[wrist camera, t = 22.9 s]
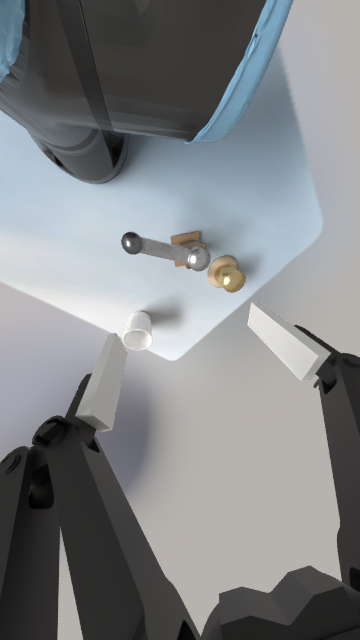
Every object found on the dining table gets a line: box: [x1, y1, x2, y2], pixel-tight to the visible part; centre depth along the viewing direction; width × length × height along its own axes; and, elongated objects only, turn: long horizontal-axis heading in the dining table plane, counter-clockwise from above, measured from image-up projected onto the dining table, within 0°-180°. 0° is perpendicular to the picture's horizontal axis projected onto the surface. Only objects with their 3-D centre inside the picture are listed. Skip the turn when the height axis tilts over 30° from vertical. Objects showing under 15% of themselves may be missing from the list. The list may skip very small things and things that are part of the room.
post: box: [171, 231, 205, 269], centre depth 32 cm, size 7×7×10 cm
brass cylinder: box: [214, 264, 246, 293], centre depth 38 cm, size 6×6×7 cm
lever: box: [121, 232, 210, 271], centre depth 25 cm, size 16×4×2 cm, turn 76°
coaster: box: [208, 256, 238, 288], centre depth 41 cm, size 9×9×1 cm
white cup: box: [122, 311, 152, 350], centre depth 42 cm, size 8×8×10 cm
